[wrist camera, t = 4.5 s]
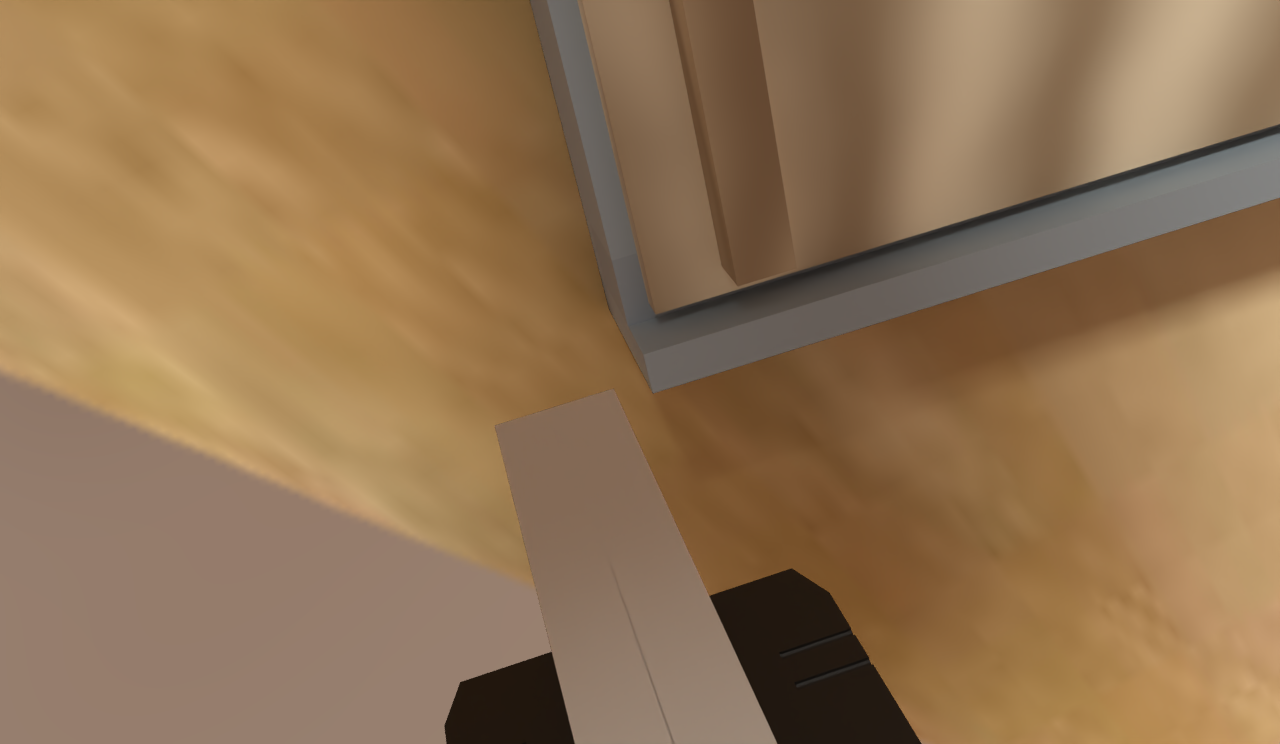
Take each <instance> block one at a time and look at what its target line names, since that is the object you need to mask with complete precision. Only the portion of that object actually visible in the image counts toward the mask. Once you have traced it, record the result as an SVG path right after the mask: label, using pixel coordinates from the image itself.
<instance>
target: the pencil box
mask: <svg viewBox="0 0 1280 744" xmlns="http://www.w3.org/2000/svg"><path fill="white" fill-rule="evenodd" d="M530 2H531V6H532V10H533V14H534V18H535V22H536V26H537V30H538V34H539V38H540V41H541V45H542V49H543V53H544V57H545V61H546V65H547V69H548V73H549V77H550V80H551V84H552V88H553V92H554V96H555V100H556V104H557V108H558V112H559V116H560V119H561V123H562V127H563V131H564V135H565V139H566V143H567V147H568V151H569V155H570V159H571V162H572V166H573V170H574V174H575V178H576V182H577V186H578V190H579V194H580V198H581V201H582V205H583V209H584V213H585V217H586V221H587V225H588V229H589V233H590V237H591V240H592V244H593V248H594V252H595V256H596V260H597V264H598V268H599V272H600V276H601V280H602V283H603V287H604V291H605V295H606V299H607V303H608V307H609V310H610V312H611V314H612V316H613V318H614V320H615V321H616V323H617V325H618V327H619V329H620V331H621V333H622V335H623V337H624V339H625V341H626V343H627V345H628V347H629V348H630V350H631V352H632V354H633V356H634V358H635V360H636V362H637V364H638V366H639V368H640V370H641V372H642V373H643V375H644V377H645V379H646V381H647V383H648V385H649V387H650V389H651V391H652V393H656V392H659V391H663V390H666V389H669V388H672V387H675V386H679V385H682V384H685V383H688V382H691V381H695V380H698V379H701V378H704V377H707V376H711V375H714V374H717V373H720V372H723V371H727V370H730V369H733V368H736V367H739V366H743V365H746V364H749V363H752V362H755V361H759V360H762V359H765V358H768V357H771V356H775V355H778V354H781V353H784V352H787V351H791V350H794V349H797V348H800V347H803V346H807V345H810V344H813V343H816V342H819V341H823V340H826V339H829V338H832V337H835V336H839V335H842V334H845V333H848V332H851V331H855V330H858V329H861V328H864V327H867V326H871V325H874V324H877V323H880V322H883V321H887V320H890V319H893V318H896V317H899V316H903V315H906V314H909V313H912V312H915V311H919V310H922V309H925V308H928V307H931V306H935V305H938V304H941V303H944V302H947V301H951V300H954V299H957V298H960V297H963V296H967V295H970V294H973V293H976V292H979V291H983V290H986V289H989V288H992V287H995V286H999V285H1002V284H1005V283H1008V282H1011V281H1015V280H1018V279H1021V278H1024V277H1027V276H1031V275H1034V274H1037V273H1040V272H1043V271H1047V270H1050V269H1053V268H1056V267H1059V266H1063V265H1066V264H1069V263H1072V262H1075V261H1079V260H1082V259H1085V258H1088V257H1091V256H1095V255H1098V254H1101V253H1104V252H1107V251H1111V250H1114V249H1117V248H1120V247H1123V246H1127V245H1130V244H1133V243H1136V242H1139V241H1143V240H1146V239H1149V238H1152V237H1155V236H1159V235H1162V234H1165V233H1168V232H1171V231H1175V230H1178V229H1181V228H1184V227H1187V226H1191V225H1194V224H1197V223H1200V222H1203V221H1207V220H1210V219H1213V218H1216V217H1219V216H1223V215H1226V214H1229V213H1232V212H1235V211H1239V210H1242V209H1245V208H1248V207H1251V206H1255V205H1258V204H1261V203H1264V202H1267V201H1271V200H1274V199H1277V198H1280V124H1278V125H1275V126H1272V127H1268V128H1265V129H1262V130H1259V131H1255V132H1252V133H1249V134H1246V135H1242V136H1239V137H1236V138H1232V139H1229V140H1226V141H1223V142H1219V143H1216V144H1213V145H1209V146H1206V147H1203V148H1200V149H1196V150H1193V151H1190V152H1187V153H1183V154H1180V155H1177V156H1173V157H1170V158H1167V159H1164V160H1160V161H1157V162H1154V163H1151V164H1147V165H1144V166H1141V167H1137V168H1134V169H1131V170H1128V171H1124V172H1121V173H1118V174H1115V175H1111V176H1108V177H1105V178H1101V179H1098V180H1095V181H1092V182H1088V183H1085V184H1082V185H1079V186H1075V187H1072V188H1069V189H1065V190H1062V191H1059V192H1056V193H1052V194H1049V195H1046V196H1043V197H1039V198H1036V199H1033V200H1029V201H1026V202H1023V203H1020V204H1016V205H1013V206H1010V207H1007V208H1003V209H1000V210H997V211H993V212H990V213H987V214H984V215H980V216H977V217H974V218H970V219H967V220H964V221H961V222H957V223H954V224H951V225H948V226H944V227H941V228H938V229H934V230H931V231H928V232H925V233H921V234H918V235H915V236H912V237H908V238H905V239H902V240H898V241H895V242H892V243H889V244H885V245H882V246H879V247H876V248H872V249H869V250H866V251H862V252H859V253H856V254H853V255H849V256H846V257H843V258H840V259H836V260H833V261H830V262H826V263H823V264H820V265H817V266H813V267H810V268H807V269H804V270H800V271H797V272H794V273H790V274H787V275H784V276H781V277H777V278H774V279H771V280H768V281H764V282H761V283H758V284H754V285H751V286H748V287H745V288H741V289H738V290H735V291H731V292H728V293H725V294H722V295H718V296H715V297H712V298H709V299H705V300H702V301H699V302H695V303H692V304H689V305H686V306H682V307H679V308H676V309H673V310H669V311H666V312H663V313H659V314H655V312H654V311H653V309H652V307H651V306H650V304H649V302H648V298H647V294H646V289H645V285H644V281H643V277H642V272H641V268H640V264H639V260H638V256H637V251H636V247H635V243H634V239H633V234H632V230H631V226H630V222H629V218H628V213H627V209H626V205H625V201H624V196H623V192H622V188H621V184H620V179H619V175H618V171H617V167H616V163H615V158H614V154H613V150H612V146H611V141H610V137H609V133H608V129H607V125H606V120H605V116H604V112H603V108H602V103H601V99H600V95H599V91H598V86H597V82H596V78H595V74H594V70H593V65H592V61H591V57H590V53H589V48H588V44H587V40H586V36H585V32H584V27H583V23H582V19H581V15H580V10H579V6H578V2H577V0H530Z"/></svg>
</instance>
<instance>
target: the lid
mask: <svg viewBox="0 0 1280 744" xmlns="http://www.w3.org/2000/svg"><path fill="white" fill-rule="evenodd" d="M577 2H578V6H579V10H580V15H581V19H582V23H583V27H584V32H585V36H586V40H587V44H588V48H589V53H590V57H591V61H592V65H593V70H594V74H595V78H596V82H597V86H598V91H599V95H600V99H601V103H602V108H603V112H604V116H605V120H606V125H607V129H608V133H609V137H610V141H611V146H612V150H613V154H614V158H615V163H616V167H617V171H618V175H619V179H620V184H621V188H622V192H623V196H624V201H625V205H626V209H627V213H628V218H629V222H630V226H631V230H632V234H633V239H634V243H635V247H636V251H637V256H638V260H639V264H640V268H641V272H642V277H643V281H644V285H645V289H646V294H647V298H648V302H649V304H650V306H651V307H652V309H653V311H654V312H655V314H659V313H663V312H666V311H669V310H673V309H676V308H679V307H682V306H686V305H689V304H692V303H695V302H699V301H702V300H705V299H709V298H712V297H715V296H718V295H722V294H725V293H728V292H731V291H735V290H738V289H741V288H745V287H748V286H751V285H754V284H758V283H761V282H764V281H768V280H771V279H774V278H777V277H781V276H784V275H787V274H790V273H794V272H797V271H800V270H804V269H807V268H810V267H813V266H817V265H820V264H823V263H826V262H830V261H833V260H836V259H840V258H843V257H846V256H849V255H853V254H856V253H859V252H862V251H866V250H869V249H872V248H876V247H879V246H882V245H885V244H889V243H892V242H895V241H898V240H902V239H905V238H908V237H912V236H915V235H918V234H921V233H925V232H928V231H931V230H934V229H938V228H941V227H944V226H948V225H951V224H954V223H957V222H961V221H964V220H967V219H970V218H974V217H977V216H980V215H984V214H987V213H990V212H993V211H997V210H1000V209H1003V208H1007V207H1010V206H1013V205H1016V204H1020V203H1023V202H1026V201H1029V200H1033V199H1036V198H1039V197H1043V196H1046V195H1049V194H1052V193H1056V192H1059V191H1062V190H1065V189H1069V188H1072V187H1075V186H1079V185H1082V184H1085V183H1088V182H1092V181H1095V180H1098V179H1101V178H1105V177H1108V176H1111V175H1115V174H1118V173H1121V172H1124V171H1128V170H1131V169H1134V168H1137V167H1141V166H1144V165H1147V164H1151V163H1154V162H1157V161H1160V160H1164V159H1167V158H1170V157H1173V156H1177V155H1180V154H1183V153H1187V152H1190V151H1193V150H1196V149H1200V148H1203V147H1206V146H1209V145H1213V144H1216V143H1219V142H1223V141H1226V140H1229V139H1232V138H1236V137H1239V136H1242V135H1246V134H1249V133H1252V132H1255V131H1259V130H1262V129H1265V128H1268V127H1272V126H1275V125H1278V124H1280V0H577Z"/></svg>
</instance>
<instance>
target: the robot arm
mask: <svg viewBox="0 0 1280 744" xmlns="http://www.w3.org/2000/svg"><path fill="white" fill-rule="evenodd" d="M495 429H496V433H497V437H498V441H499V445H500V449H501V453H502V457H503V461H504V465H505V468H506V472H507V476H508V480H509V484H510V488H511V492H512V496H513V500H514V504H515V508H516V512H517V516H518V520H519V524H520V528H521V532H522V536H523V540H524V544H525V548H526V552H527V556H528V560H529V564H530V568H531V572H532V575H533V579H534V583H535V587H536V591H537V595H538V599H539V603H540V607H541V611H542V615H543V619H544V623H545V627H546V631H547V634H548V638H549V643H550V647H551V651H552V652H550V653H547V654H544V655H541V656H538V657H535V658H532V659H529V660H526V661H523V662H520V663H517V664H514V665H511V666H508V667H505V668H502V669H499V670H496V671H493V672H490V673H487V674H484V675H481V676H478V677H475V678H472V679H469V680H466V681H463V682H460V685H459V687H458V690H457V693H456V696H455V698H454V701H453V704H452V707H451V709H450V712H449V715H448V718H447V720H446V723H445V734H446V742H447V744H921V742H920V741H919V739H918V737H917V736H916V734H915V732H914V731H913V729H912V727H911V726H910V724H909V723H908V721H907V719H906V718H905V716H904V714H903V713H902V711H901V709H900V708H899V706H898V704H897V703H896V701H895V700H894V698H893V696H892V695H891V693H890V691H889V690H888V688H887V686H886V685H885V683H884V682H883V680H882V678H881V677H880V675H879V673H878V672H877V670H876V668H875V667H874V665H871V663H870V660H869V657H868V655H867V654H866V652H865V650H864V649H863V647H862V645H861V644H860V642H859V641H858V639H857V637H856V636H855V635H853V633H852V631H851V627H850V626H849V624H848V622H847V621H846V619H845V618H844V616H843V614H842V613H841V611H840V609H839V608H838V606H837V604H836V603H835V601H834V600H833V598H832V596H831V595H830V593H829V592H827V591H826V590H824V589H823V588H821V587H820V586H818V585H817V584H815V583H813V582H812V581H810V580H809V579H807V578H806V577H804V576H803V575H801V574H800V573H798V572H796V571H795V570H793V569H789V570H786V571H783V572H780V573H777V574H774V575H771V576H768V577H765V578H762V579H759V580H756V581H753V582H750V583H747V584H744V585H741V586H738V587H735V588H732V589H729V590H726V591H723V592H720V593H717V594H714V595H711V596H709V595H708V592H707V590H706V588H705V586H704V584H703V581H702V579H701V577H700V575H699V573H698V571H697V568H696V566H695V564H694V562H693V560H692V558H691V555H690V553H689V551H688V549H687V547H686V545H685V542H684V540H683V538H682V536H681V534H680V532H679V529H678V527H677V525H676V523H675V521H674V519H673V516H672V514H671V512H670V510H669V508H668V506H667V503H666V501H665V499H664V497H663V495H662V493H661V490H660V488H659V486H658V484H657V482H656V480H655V477H654V475H653V473H652V471H651V469H650V467H649V464H648V462H647V460H646V458H645V456H644V454H643V451H642V449H641V447H640V445H639V443H638V441H637V438H636V436H635V434H634V432H633V430H632V428H631V425H630V423H629V421H628V419H627V417H626V414H625V412H624V410H623V408H622V406H621V404H620V401H619V399H618V397H617V395H616V393H615V391H614V389H610V390H607V391H604V392H601V393H598V394H594V395H591V396H588V397H585V398H582V399H578V400H575V401H572V402H569V403H565V404H562V405H559V406H556V407H553V408H549V409H546V410H543V411H540V412H537V413H533V414H530V415H527V416H524V417H521V418H517V419H514V420H511V421H508V422H505V423H501V424H498V425H495Z"/></svg>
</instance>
